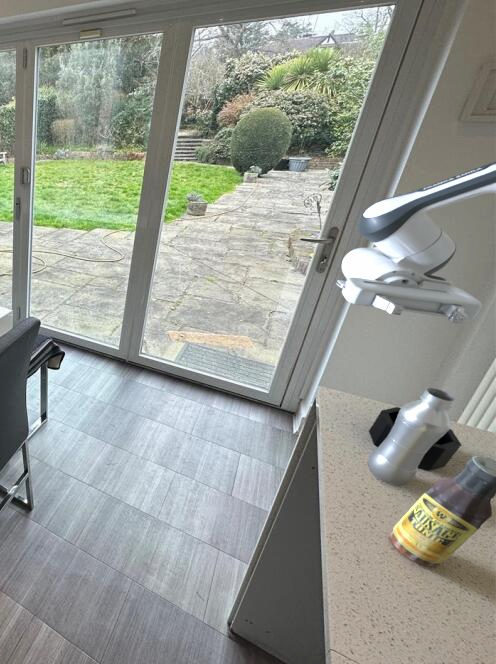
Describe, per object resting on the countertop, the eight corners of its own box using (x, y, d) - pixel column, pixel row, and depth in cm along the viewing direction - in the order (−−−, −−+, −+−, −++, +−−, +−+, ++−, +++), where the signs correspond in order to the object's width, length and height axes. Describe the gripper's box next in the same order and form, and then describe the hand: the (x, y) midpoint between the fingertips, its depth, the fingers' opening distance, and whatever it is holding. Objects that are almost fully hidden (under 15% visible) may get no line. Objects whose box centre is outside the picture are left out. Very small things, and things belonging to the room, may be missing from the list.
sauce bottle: (378, 538, 67) (444, 452, 58) (401, 526, 69) (468, 441, 60) (428, 578, 62) (509, 489, 53) (451, 563, 64) (533, 476, 55)
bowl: (393, 425, 91) (407, 404, 88) (455, 463, 82) (472, 441, 79) (357, 433, 89) (370, 412, 86) (417, 474, 79) (433, 452, 76)
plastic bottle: (402, 470, 80) (459, 390, 71) (411, 496, 75) (474, 413, 66) (360, 456, 83) (410, 377, 74) (366, 479, 78) (420, 398, 68)
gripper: (339, 266, 89) (368, 291, 77) (459, 280, 83) (510, 309, 71) (327, 292, 92) (354, 320, 80) (442, 307, 86) (489, 340, 74)
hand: (429, 315), depth 75 cm, fingers open, 8 cm apart
